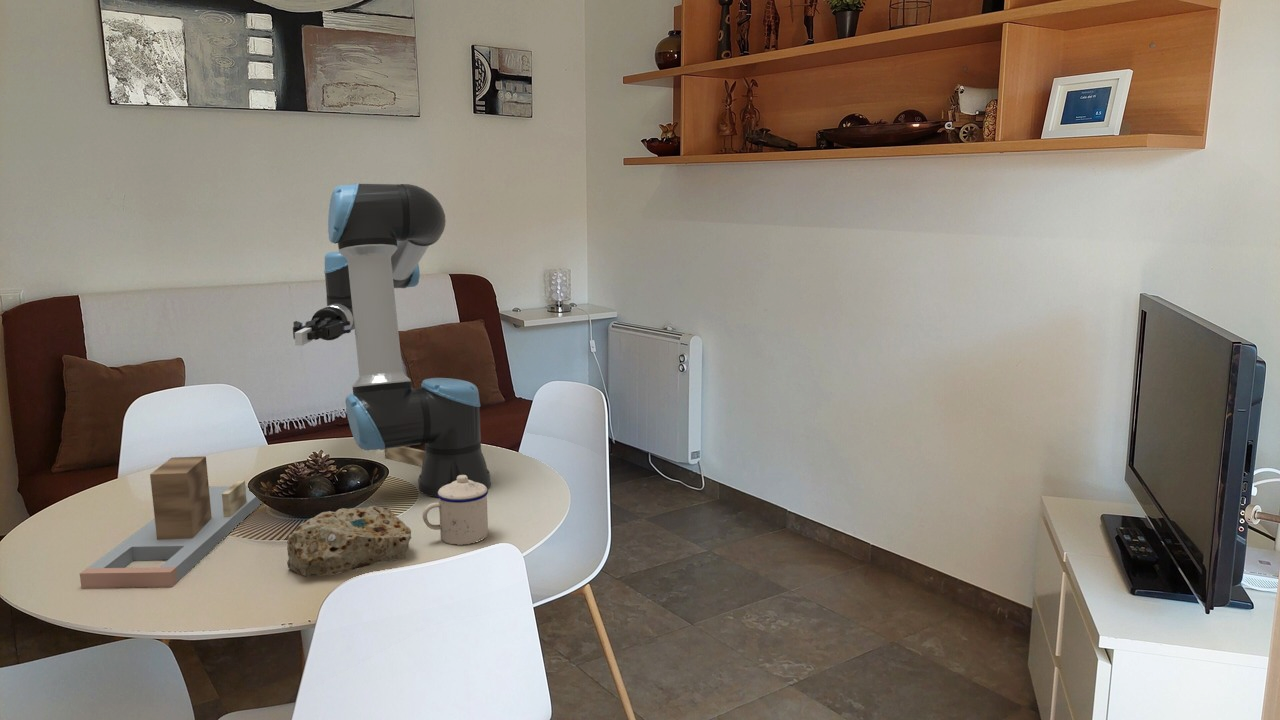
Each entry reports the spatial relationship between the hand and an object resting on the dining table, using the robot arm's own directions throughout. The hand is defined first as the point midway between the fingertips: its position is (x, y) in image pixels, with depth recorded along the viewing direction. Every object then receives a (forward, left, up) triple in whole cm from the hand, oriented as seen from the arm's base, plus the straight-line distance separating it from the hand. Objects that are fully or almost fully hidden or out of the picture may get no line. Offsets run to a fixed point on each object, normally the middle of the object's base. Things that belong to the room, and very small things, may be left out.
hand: (298, 339), depth 192 cm
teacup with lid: (-48, +4, -32) cm, 58 cm away
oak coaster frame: (-5, -31, -32) cm, 45 cm away
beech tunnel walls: (-1, +25, -29) cm, 39 cm away
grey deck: (-6, +31, -32) cm, 45 cm away
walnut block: (-8, +32, -30) cm, 45 cm away
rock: (-40, +22, -32) cm, 56 cm away
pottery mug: (-5, -31, -32) cm, 45 cm away
